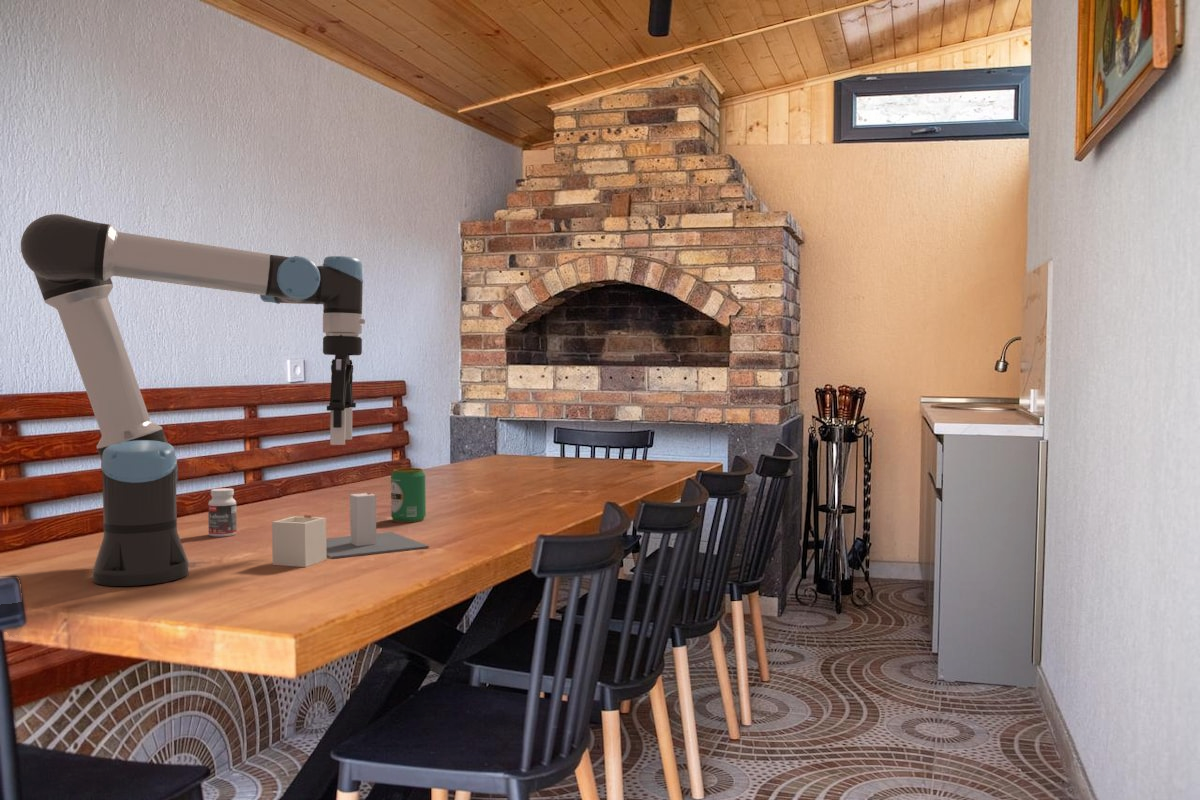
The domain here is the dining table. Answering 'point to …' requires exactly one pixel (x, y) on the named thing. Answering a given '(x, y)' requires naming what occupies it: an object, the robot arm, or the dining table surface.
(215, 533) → the pill bottle
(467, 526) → the dining table surface
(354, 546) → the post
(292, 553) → the cream square sleeve
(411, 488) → the beverage can
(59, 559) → the dining table surface
